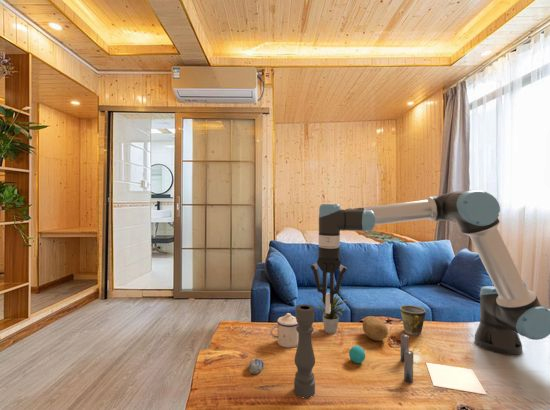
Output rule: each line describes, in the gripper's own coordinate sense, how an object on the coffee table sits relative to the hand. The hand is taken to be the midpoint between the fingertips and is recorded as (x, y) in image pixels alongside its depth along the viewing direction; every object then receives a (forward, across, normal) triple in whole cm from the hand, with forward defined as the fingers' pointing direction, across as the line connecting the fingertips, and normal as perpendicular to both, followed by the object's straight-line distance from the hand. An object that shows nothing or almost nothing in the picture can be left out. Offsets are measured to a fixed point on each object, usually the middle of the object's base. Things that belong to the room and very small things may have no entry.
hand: (328, 312), depth 110 cm
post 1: (+16, +26, +6) cm, 32 cm away
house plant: (+17, -2, +22) cm, 28 cm away
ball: (+14, +10, 0) cm, 17 cm away
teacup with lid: (+17, -18, +6) cm, 25 cm away
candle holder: (+17, -4, -22) cm, 28 cm away
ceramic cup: (+17, +32, +32) cm, 49 cm away
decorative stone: (+17, -22, -15) cm, 32 cm away
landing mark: (+16, +40, 0) cm, 44 cm away
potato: (+17, +16, +22) cm, 32 cm away
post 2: (+16, +26, -6) cm, 32 cm away
